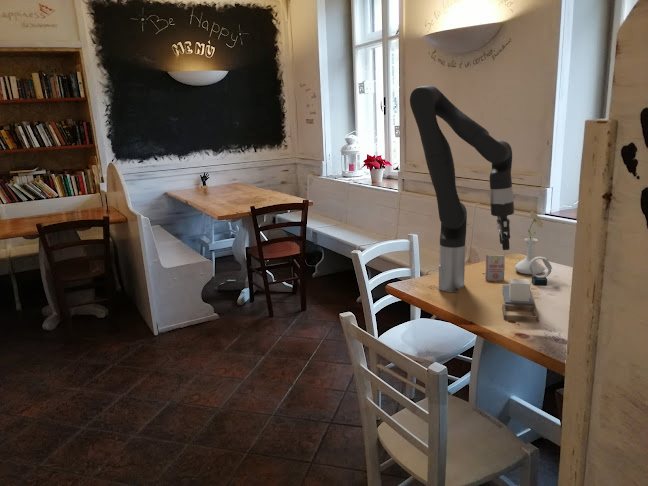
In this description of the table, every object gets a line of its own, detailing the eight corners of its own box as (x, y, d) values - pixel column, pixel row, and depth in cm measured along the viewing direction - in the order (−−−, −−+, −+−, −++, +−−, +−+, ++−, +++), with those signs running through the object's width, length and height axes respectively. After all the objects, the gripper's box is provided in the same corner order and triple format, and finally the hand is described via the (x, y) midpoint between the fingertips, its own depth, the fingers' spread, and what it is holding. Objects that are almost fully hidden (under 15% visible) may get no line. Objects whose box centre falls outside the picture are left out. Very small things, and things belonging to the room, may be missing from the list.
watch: (552, 287, 189) (554, 259, 187) (529, 287, 191) (531, 259, 188) (548, 282, 195) (550, 255, 192) (526, 282, 196) (528, 254, 193)
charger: (509, 306, 170) (510, 283, 168) (508, 300, 175) (509, 278, 173) (528, 307, 168) (530, 284, 166) (527, 301, 173) (528, 279, 171)
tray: (503, 324, 160) (504, 315, 159) (502, 312, 169) (502, 304, 168) (537, 326, 157) (538, 317, 156) (534, 314, 166) (535, 306, 165)
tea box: (485, 277, 203) (486, 253, 201) (503, 278, 202) (504, 254, 199) (485, 280, 200) (486, 256, 197) (503, 281, 198) (505, 256, 196)
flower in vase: (544, 277, 200) (549, 215, 194) (514, 275, 204) (517, 214, 198) (543, 268, 212) (547, 209, 206) (514, 266, 216) (517, 208, 210)
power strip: (505, 311, 169) (505, 300, 168) (502, 294, 185) (502, 283, 184) (534, 313, 167) (534, 301, 166) (528, 295, 182) (529, 284, 181)
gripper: (488, 198, 181) (491, 242, 185) (492, 205, 168) (495, 252, 171) (510, 196, 179) (513, 240, 183) (516, 203, 166) (518, 251, 169)
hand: (504, 246), depth 177 cm, fingers open, 8 cm apart
